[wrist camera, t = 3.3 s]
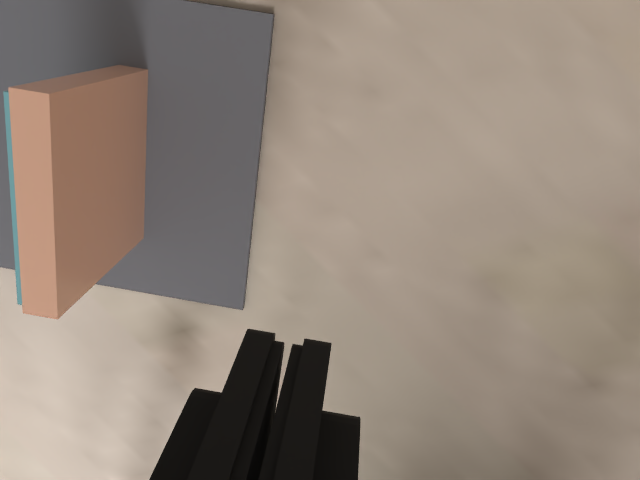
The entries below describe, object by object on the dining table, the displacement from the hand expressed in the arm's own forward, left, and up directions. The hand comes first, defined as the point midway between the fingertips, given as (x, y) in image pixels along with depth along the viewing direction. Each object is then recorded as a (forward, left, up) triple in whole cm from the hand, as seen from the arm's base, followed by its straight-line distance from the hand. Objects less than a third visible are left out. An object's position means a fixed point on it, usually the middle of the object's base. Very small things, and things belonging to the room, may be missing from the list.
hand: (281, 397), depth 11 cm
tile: (+10, 0, -16) cm, 19 cm away
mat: (+15, 0, -16) cm, 22 cm away
